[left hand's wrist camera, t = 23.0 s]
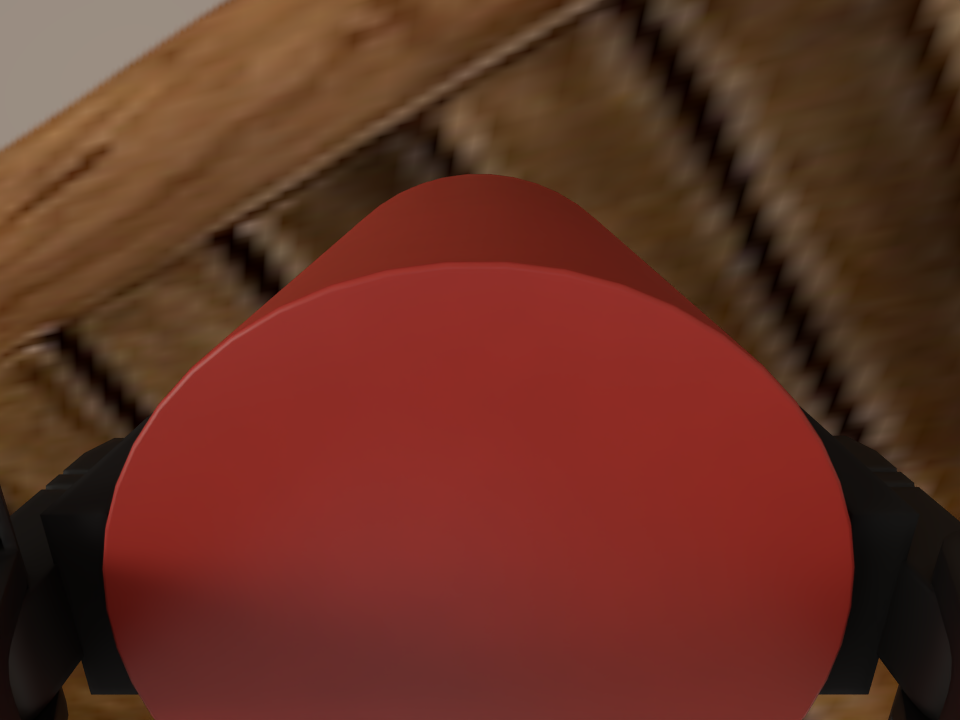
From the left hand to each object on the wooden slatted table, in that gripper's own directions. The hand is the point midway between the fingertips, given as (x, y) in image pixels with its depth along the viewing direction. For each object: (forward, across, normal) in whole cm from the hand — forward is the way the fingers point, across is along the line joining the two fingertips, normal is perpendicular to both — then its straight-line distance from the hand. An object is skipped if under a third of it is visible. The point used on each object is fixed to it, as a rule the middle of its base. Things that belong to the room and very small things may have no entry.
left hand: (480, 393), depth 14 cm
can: (+3, 0, 0) cm, 3 cm away
